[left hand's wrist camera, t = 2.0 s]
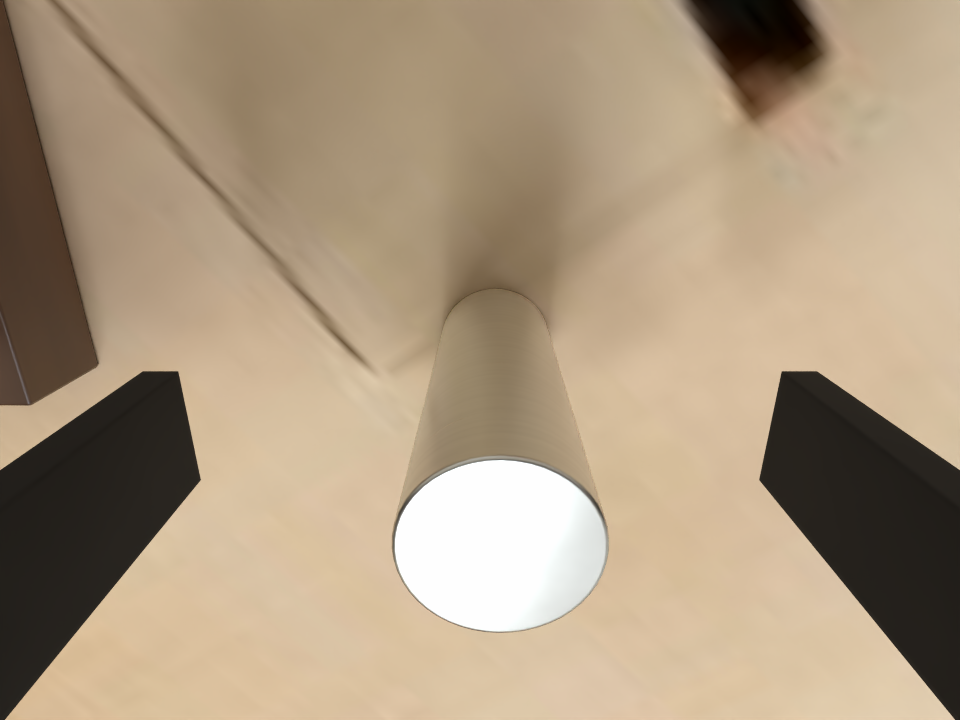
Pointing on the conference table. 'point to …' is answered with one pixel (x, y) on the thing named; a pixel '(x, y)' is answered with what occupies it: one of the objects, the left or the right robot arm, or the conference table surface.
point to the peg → (498, 478)
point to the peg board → (33, 257)
